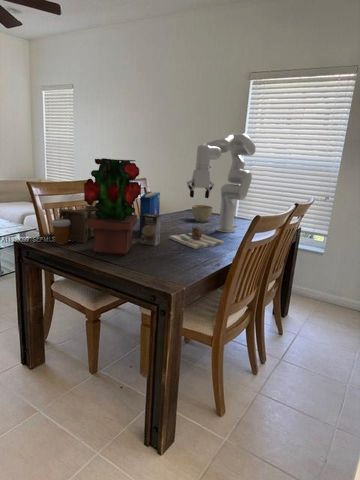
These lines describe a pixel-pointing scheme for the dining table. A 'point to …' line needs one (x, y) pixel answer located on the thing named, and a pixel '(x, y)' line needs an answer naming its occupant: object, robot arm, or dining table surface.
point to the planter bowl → (201, 212)
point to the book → (149, 205)
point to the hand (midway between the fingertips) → (199, 197)
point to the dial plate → (196, 241)
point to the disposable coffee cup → (61, 230)
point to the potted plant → (113, 205)
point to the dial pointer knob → (196, 233)
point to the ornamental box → (79, 222)
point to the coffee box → (150, 229)
